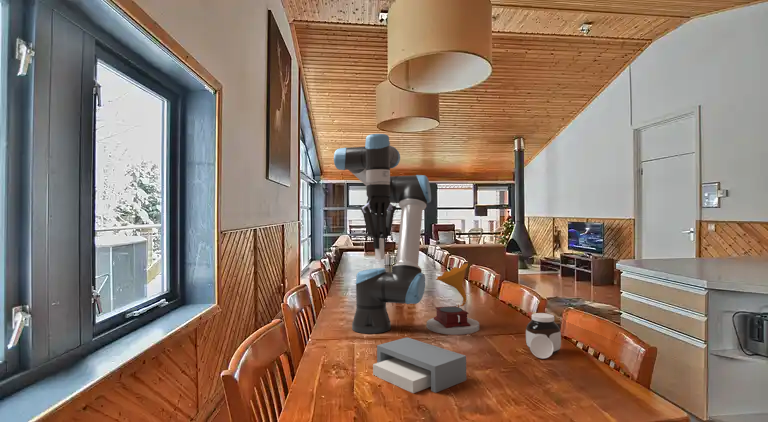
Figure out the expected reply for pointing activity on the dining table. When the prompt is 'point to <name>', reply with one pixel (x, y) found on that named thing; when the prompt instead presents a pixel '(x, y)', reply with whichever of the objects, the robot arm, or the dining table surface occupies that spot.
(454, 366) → the low overhang
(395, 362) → the pale grey flat slab
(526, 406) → the dining table surface
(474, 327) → the gramophone
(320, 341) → the dining table surface
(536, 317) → the spread jar
